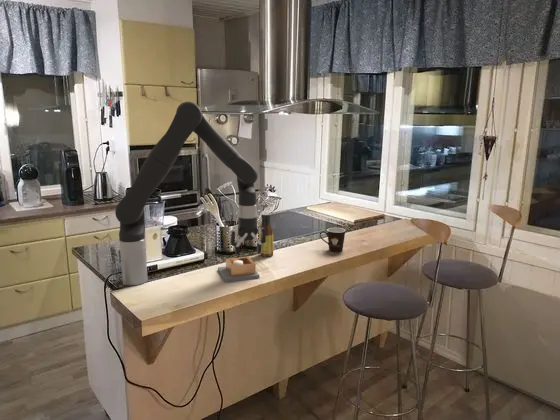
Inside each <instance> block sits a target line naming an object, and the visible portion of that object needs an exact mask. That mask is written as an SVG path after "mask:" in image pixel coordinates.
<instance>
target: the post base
mask: <svg viewBox="0 0 560 420" xmlns="http://www.w3.org/2000/svg"><path fill="white" fill-rule="evenodd" d="M235 265H243V261H241V260H236V261H233V266H235ZM217 271H218V272H219V275H220V276H221V278H222V279H224V280H223V282H224V283H230V282H238V281H246V280H254V279H260V274H259V273H258V271H257V270H256V274H249V275H241V276H232V277H231V275H230V274H229V272H228V270H227V269H226V266H218V267H217Z"/></svg>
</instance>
